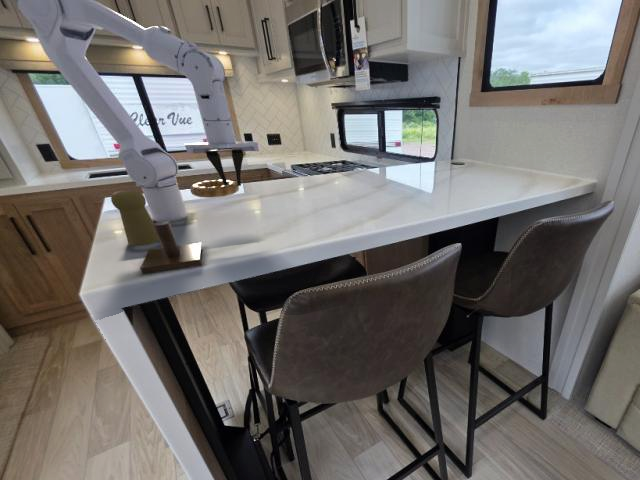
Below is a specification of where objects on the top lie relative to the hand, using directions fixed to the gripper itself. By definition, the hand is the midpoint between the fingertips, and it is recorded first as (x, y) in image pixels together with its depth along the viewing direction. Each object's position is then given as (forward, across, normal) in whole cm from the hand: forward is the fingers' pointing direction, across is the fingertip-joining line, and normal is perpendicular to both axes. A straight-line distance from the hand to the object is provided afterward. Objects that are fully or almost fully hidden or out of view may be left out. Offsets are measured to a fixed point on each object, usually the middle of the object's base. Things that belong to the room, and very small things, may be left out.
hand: (232, 185), depth 78 cm
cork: (+9, -19, -9) cm, 23 cm away
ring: (0, -4, 0) cm, 4 cm away
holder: (+9, -13, -20) cm, 25 cm away
